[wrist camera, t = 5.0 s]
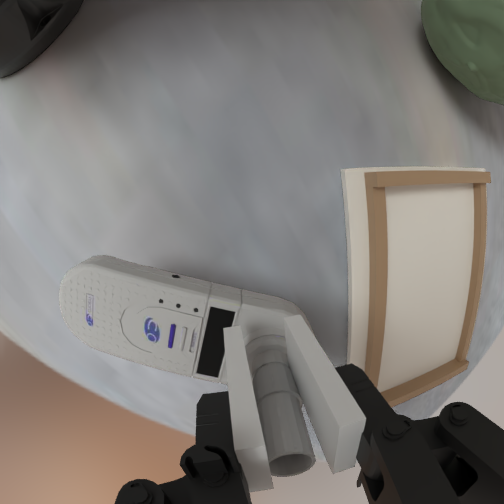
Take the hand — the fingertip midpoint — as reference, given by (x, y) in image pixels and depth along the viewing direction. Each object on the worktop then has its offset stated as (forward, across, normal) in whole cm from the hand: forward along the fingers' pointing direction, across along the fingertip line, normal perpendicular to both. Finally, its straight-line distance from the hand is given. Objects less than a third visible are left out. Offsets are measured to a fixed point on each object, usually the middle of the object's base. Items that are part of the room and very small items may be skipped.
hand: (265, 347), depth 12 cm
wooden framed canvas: (+11, +19, -6) cm, 23 cm away
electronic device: (+5, -4, 0) cm, 6 cm away
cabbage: (+11, +27, +22) cm, 36 cm away
